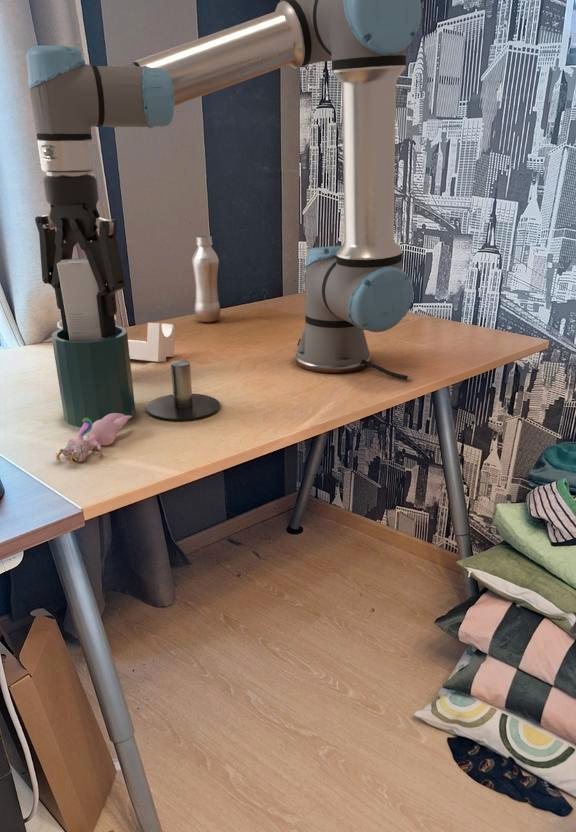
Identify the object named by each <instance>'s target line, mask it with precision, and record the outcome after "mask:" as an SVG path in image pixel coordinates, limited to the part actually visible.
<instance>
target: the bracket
mask: <svg viewBox="0 0 576 832" xmlns="http://www.w3.org/2000/svg"><path fill="white" fill-rule="evenodd" d="M175 330H176V325H175V324H173V323H160V322H147V331H146V332H147V333H146V334H147V335H146V337H147V338H146V340H136V339H128V346H129V355H130V360H138V361H147V362H157V363H159V362H160V363H161V362H167V358H168V357H174V356H175V355H174V354H175Z"/></svg>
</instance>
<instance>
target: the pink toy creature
mask: <svg viewBox="0 0 576 832" xmlns="http://www.w3.org/2000/svg"><path fill="white" fill-rule="evenodd" d="M129 418H132V416H125V415H124V414H120V413H111V414H108V415H106V416H105V417H104V418H103V419H101V420H97V421H96V422H94V423H93V424H92V421H91V420H90V419H89V418H84V419H83V420H82V422H84V424H83V426H82V427H80V429H79V431H78V435H77V437H75V438H70V439H68V440H67V441H68V443H67V444H66V446H65V447H64V448H60V449H59V452H58V453H57V452H55V455H56V456H55V457H56V460H55V461H56V462H58V464H60V463H61V462H62V460H61V454H62V455H63V456H64V457H65V459H67V460H68V461H69V463H68V465H71V467H72V468H73V467H74V466H75V464H74V462H73V460H75V462H77V463H81V462H83V461H85V460H86V459H87V456H88V454H89V452H91V451H93V449H95V448H97V450H98V451H101V450H102V446H110V445H111V444H112V443H113V442H114V441H115V439H116V436H117V434H118V431H120V430H121V429H122V428H123V427H124V426H125V425H126V423H127V422H128V421H127V420H128V419H129ZM132 419H133V418H132ZM85 435H86V438H84V436H85Z"/></svg>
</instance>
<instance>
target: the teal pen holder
mask: <svg viewBox="0 0 576 832" xmlns="http://www.w3.org/2000/svg"><path fill="white" fill-rule="evenodd" d="M115 326H116V334H115V335H113V336H111V337H110V338H108V339H103V340H96V341H70V339H69V333H68V332H63V328H62V329H59V328H58V329H57V330H54V332H52V333H51V342H52V348H53V354H54V361H55V368H56V374H57V380H58V381H57V382H58V385H59V386H58V387H59V393H60V401H61V406H62V412H63V419H64V421H65V423H67V424H68V425H71V426H72V427H76V428H81V427H82V426H83V424H84V422H82V420H83V419H84V418H89V419H90V420H91V421H92V424H93V423H94V422H96V421H97V420H101V419H103V418H104V417H105V416H106V415H108V414H111V413H120V414H124V415H125V416H132V418H129V419H128V420H127V422H129V421H131V420H133V419H134V418H135V416H136V415H137V414H136V404H135V403H136V402H135V396H134V395H135V393H134V385H133V377H132V368H131V367H132V365H131V359H130V355H129V346H128V340H129V338H128V337H129V336H128V329H127V328H125V327H123V326H122V325H117V324H115Z"/></svg>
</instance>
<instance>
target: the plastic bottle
mask: <svg viewBox="0 0 576 832" xmlns="http://www.w3.org/2000/svg"><path fill="white" fill-rule="evenodd" d="M212 239H213V237H212V236H211V235H197V236H196V237H195V240H196V242H195V245H196V246H197V247H196V249H195V251H194V252H193V255H192V258H191V266H192V270H193V276H194V283H195V284H194V286H195V291H194V293H195V295H194V296H195V297H194V306H193V308H194V309H193V313H194V317H195V318H196V320H197V321H198V322H205V323H211V322H215V321H219V319H220V317H221V312H222V311H221V304H220V301H219V293H218V272H219V260H220V259H219V257H218V254H217V253H216V251H215V250H214V249H213V247H212V246H213V240H212Z"/></svg>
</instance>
